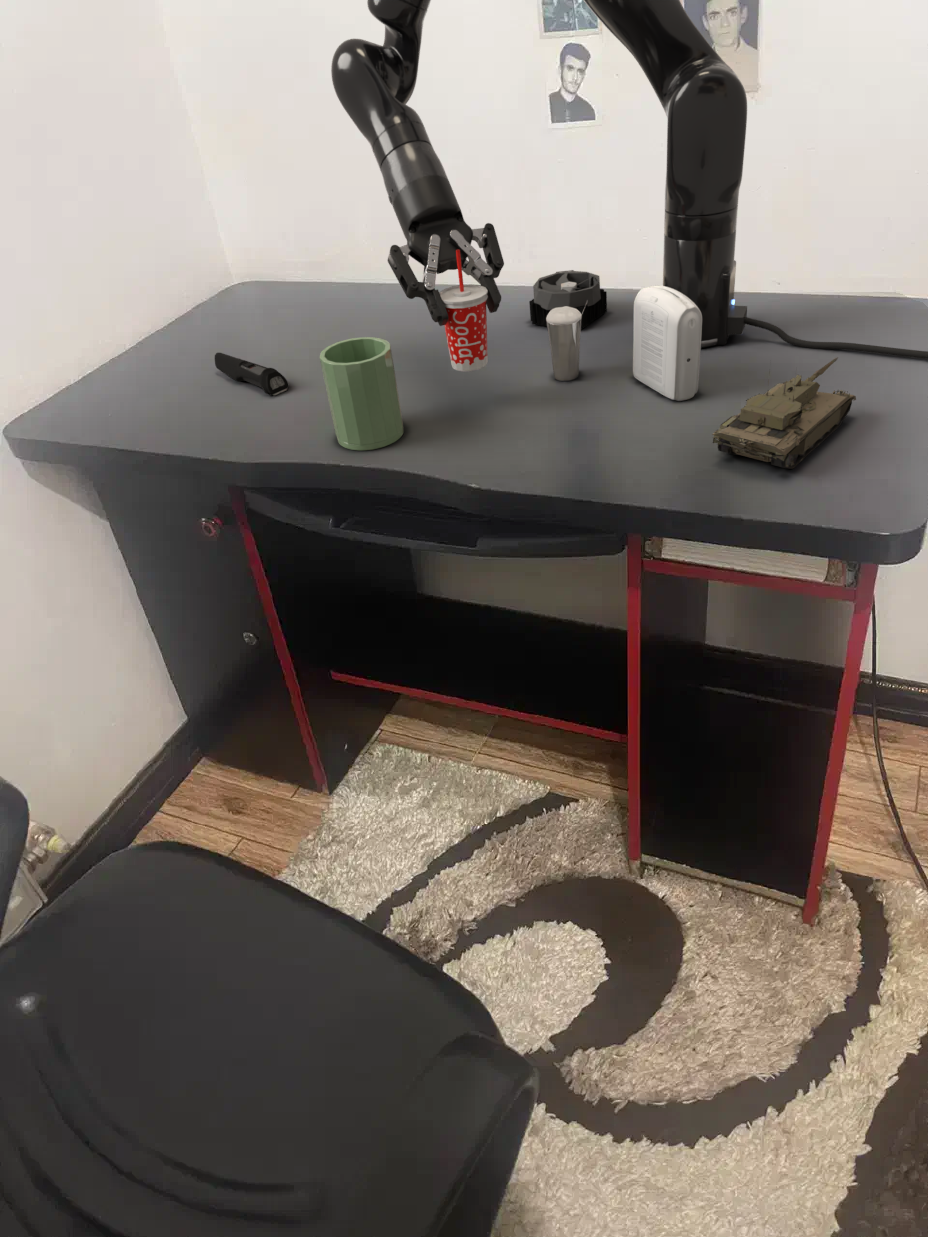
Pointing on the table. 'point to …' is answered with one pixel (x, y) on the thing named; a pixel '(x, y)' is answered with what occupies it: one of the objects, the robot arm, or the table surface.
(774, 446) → the tank
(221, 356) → the electric trimmer
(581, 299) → the cpu cooler
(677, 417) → the table surface
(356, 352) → the pen pot
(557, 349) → the milkshake
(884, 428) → the table surface
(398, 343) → the table surface
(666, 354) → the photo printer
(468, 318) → the beverage cup
